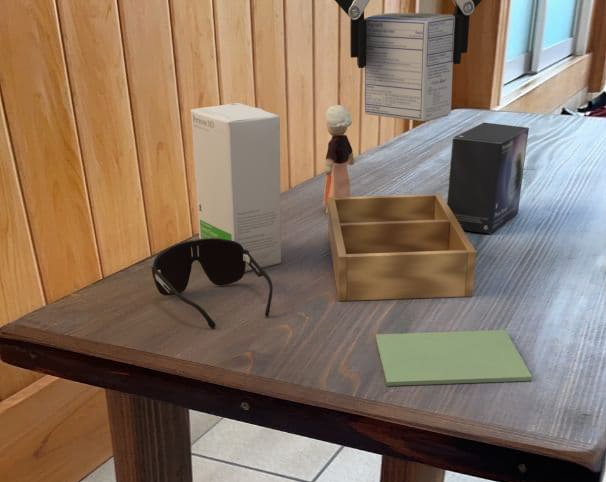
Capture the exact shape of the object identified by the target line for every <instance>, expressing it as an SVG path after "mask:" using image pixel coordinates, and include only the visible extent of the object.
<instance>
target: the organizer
mask: <svg viewBox="0 0 606 482" xmlns="http://www.w3.org/2000/svg"><path fill="white" fill-rule="evenodd" d="M327 208H328V214H327V237H328V244H329V249H330V250H329V251H330V255H331V260H332V266H333V273H334V279H335V285H336V292H337V297H338V302H346V301H349V302H350V301H380V300H406V299H407V300H410V299H435V298H436V299H437V298H438V299H439V298H462V297H463V298H464V297H466V298H469V297H470V298H471V297H473V296H474V286H475V285H474V284H475V273H476V263H477V253H478V252H477V251H476V248H475V247H474V246H473V244H472V242H471V241H470V239H469V237H468V236H467V234H466V231H465V230H463V229H462V227H461V226H460V224H459V223H458V221H457V219H456V218H455V216H454V214H453V213H452V211H451V209H450V208H449V206H448V204H447V200H445V198H444V196H443V194H442V193H424V194H423V193H422V194H398V195H395V194H394V195H365V196H364V195H363V196H350V197H335V198H334V197H333V198H328V205H327Z"/></svg>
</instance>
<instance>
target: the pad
mask: <svg viewBox="0 0 606 482" xmlns="http://www.w3.org/2000/svg"><path fill="white" fill-rule="evenodd" d="M375 341H376V345H377V350H378V355H379V358H380V362H381V367H382V371H383V375H384V380H385V385H386V386H387V387H396V386H424V385H425V386H426V385H427V386H428V385H451V384H452V385H453V384H479V383H481V384H482V383H505V382H506V383H509V382H532V381H533V375H532V373H531V372H530V370H529V368H528V367H527V365H526V363H525V361H524V359H523V358H522V356H521V354H520V352H519V351H518V349H517V348H516V346H515V343H514V341H513V340H512V339H511V337H510V335H509V333H508V332H507V329H493V330H491V329H490V330H489V329H488V330H464V331H462V330H461V331H436V332H410V333H408V332H406V333H380V334H378V333H377V334H375Z"/></svg>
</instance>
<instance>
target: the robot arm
mask: <svg viewBox="0 0 606 482" xmlns="http://www.w3.org/2000/svg"><path fill="white" fill-rule="evenodd" d="M370 1H371V0H334V2H335V3H336V4H337V5H338V6H339V8H341V9H342V11H343V12H345V14H346V15H347V16H348V17H349V19H350V20H349V22H350V23H349V26H350V27H349V28H350V30H349V31H350V35H349V36H350V37H349V39H350V40H349V42H350V43H349V44H350V50H349V52H350V53H349V54H350V58H356V62H357V63H356V64H357V65H356V66H357V67H358V69H365V67H364V66H366V33H367V22H366V20H365V9H366V8H367V6H368V5H369V3H370ZM451 1H452V3H453V4H454V11H453V12H452V15H453V16H455V29H454V51H453V65H461V61H462V54H466V53H468V46H469V31H470V17H471V16H470V15H472V14H473V12H474V11H475V9H476V8H477V7H478V6H479V4H480V3H482V1H483V0H451Z"/></svg>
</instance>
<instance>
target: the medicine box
mask: <svg viewBox="0 0 606 482" xmlns="http://www.w3.org/2000/svg"><path fill="white" fill-rule="evenodd" d="M364 19H365V20H366V22H367V33H366V66H364V114H365V115H369V116H377V117H379V116H380V117H385V118H393V119H401V120H409V121H418V122H430V121H433V120H434V121H435V120H437V119H441V118H445V117H449V115H451V113H452V98H453V97H452V94H453V92H452V91H453V74H454V73H453V72H454V71H453V70H454V68H453V67H454V63H453V51H454V29H455V16H453V14H450V13H449V14H447V13H430V12H429V13H428V12H426V13H425V12H386V13H378V14H374V15H370V16H368V17H364Z"/></svg>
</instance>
